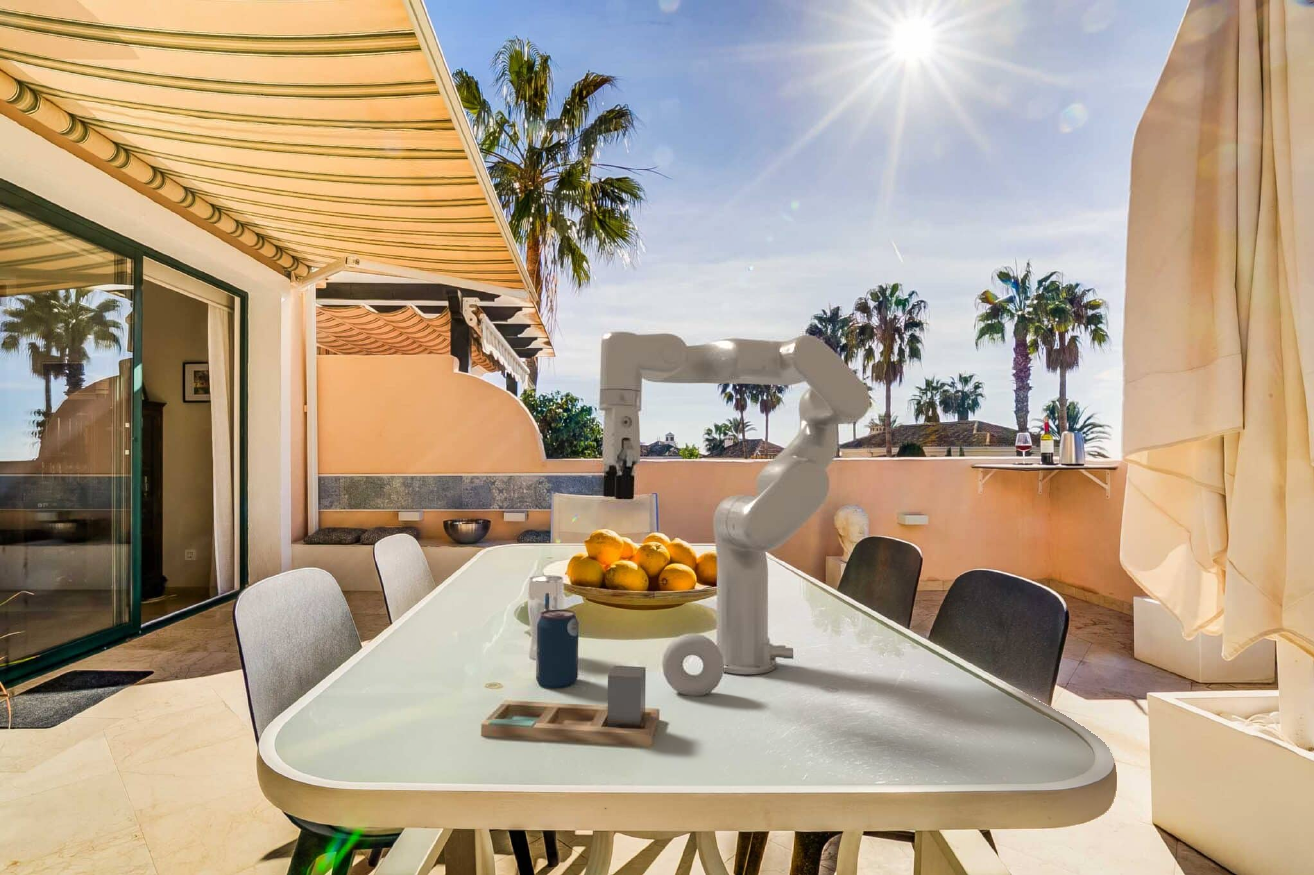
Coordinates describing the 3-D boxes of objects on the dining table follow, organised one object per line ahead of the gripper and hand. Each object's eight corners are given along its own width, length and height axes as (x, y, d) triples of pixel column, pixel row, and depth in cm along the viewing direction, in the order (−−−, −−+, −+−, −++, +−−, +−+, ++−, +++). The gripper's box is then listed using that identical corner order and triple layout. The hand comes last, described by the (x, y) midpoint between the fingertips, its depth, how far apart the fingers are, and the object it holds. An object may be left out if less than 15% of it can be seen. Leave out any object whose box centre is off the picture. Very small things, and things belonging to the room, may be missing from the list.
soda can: (586, 685, 108) (587, 612, 108) (553, 695, 102) (554, 619, 103) (560, 675, 112) (561, 606, 113) (527, 685, 107) (528, 612, 108)
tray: (659, 722, 92) (659, 707, 92) (650, 750, 83) (651, 732, 83) (505, 713, 95) (505, 698, 95) (480, 739, 86) (481, 722, 86)
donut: (660, 698, 102) (661, 634, 102) (663, 691, 105) (663, 629, 105) (723, 702, 100) (723, 637, 101) (724, 694, 104) (724, 632, 104)
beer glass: (559, 661, 121) (561, 581, 121) (522, 660, 121) (524, 580, 121) (565, 651, 128) (566, 575, 128) (530, 650, 128) (532, 574, 128)
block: (645, 724, 90) (645, 666, 90) (640, 738, 85) (640, 677, 86) (613, 723, 90) (614, 665, 91) (607, 736, 86) (607, 675, 86)
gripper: (654, 398, 107) (651, 500, 106) (628, 407, 124) (626, 496, 123) (610, 395, 105) (607, 500, 104) (590, 405, 122) (587, 495, 121)
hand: (617, 497), depth 113 cm, fingers open, 9 cm apart
